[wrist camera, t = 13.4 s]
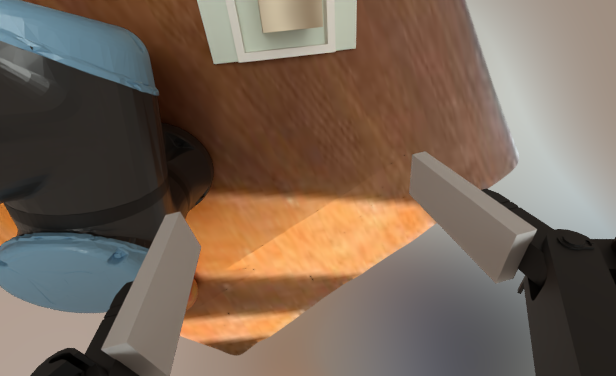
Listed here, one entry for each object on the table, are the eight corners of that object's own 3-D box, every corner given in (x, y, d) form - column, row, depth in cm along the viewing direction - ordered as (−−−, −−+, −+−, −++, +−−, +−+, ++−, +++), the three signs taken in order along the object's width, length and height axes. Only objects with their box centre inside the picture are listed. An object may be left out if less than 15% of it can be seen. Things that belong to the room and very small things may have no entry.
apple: (206, 284, 58) (199, 316, 51) (174, 291, 58) (163, 324, 51) (194, 263, 54) (185, 296, 47) (160, 270, 54) (146, 304, 47)
